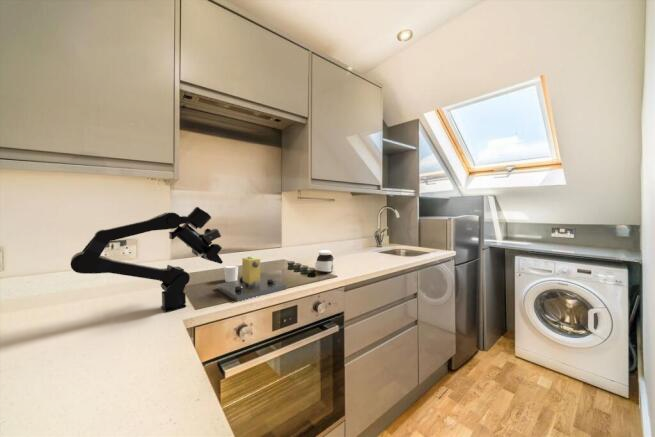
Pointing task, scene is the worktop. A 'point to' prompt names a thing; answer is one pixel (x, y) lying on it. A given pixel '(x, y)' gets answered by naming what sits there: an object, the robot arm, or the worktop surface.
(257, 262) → the yellow rectangular block
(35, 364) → the worktop surface
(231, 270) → the white cup
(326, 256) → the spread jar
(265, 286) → the tribrach plate
